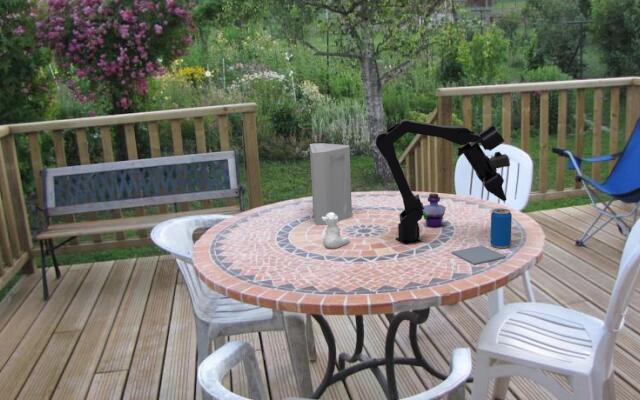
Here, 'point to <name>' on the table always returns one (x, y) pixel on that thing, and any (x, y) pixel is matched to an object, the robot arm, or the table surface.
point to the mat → (478, 255)
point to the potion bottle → (433, 212)
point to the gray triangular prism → (330, 181)
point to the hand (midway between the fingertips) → (502, 196)
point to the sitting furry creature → (333, 232)
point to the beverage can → (501, 228)
